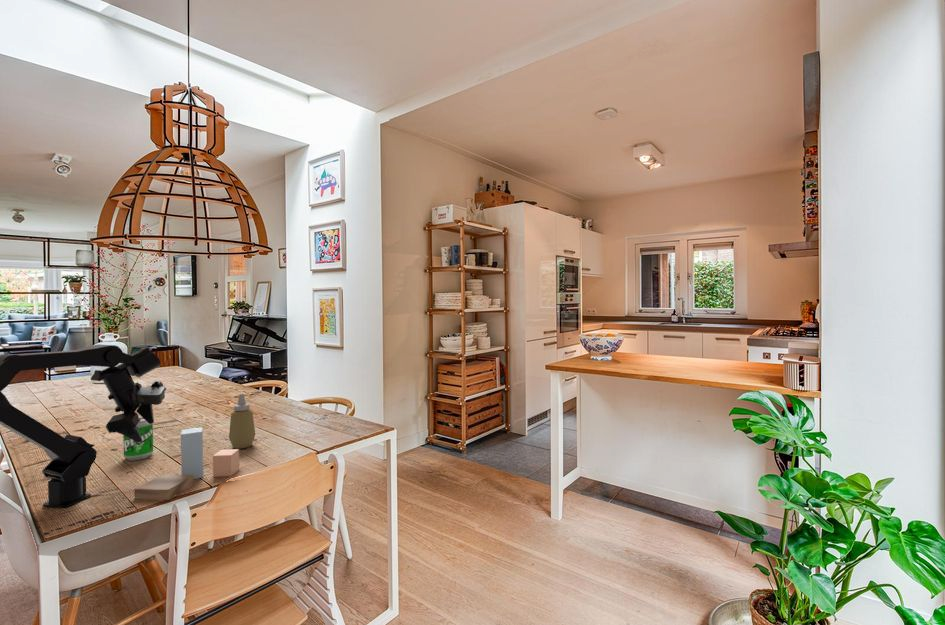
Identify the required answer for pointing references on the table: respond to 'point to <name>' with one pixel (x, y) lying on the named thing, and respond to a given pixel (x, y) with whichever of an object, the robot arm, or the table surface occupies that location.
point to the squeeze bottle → (241, 425)
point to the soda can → (142, 448)
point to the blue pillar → (192, 452)
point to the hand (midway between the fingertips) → (146, 432)
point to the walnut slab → (164, 487)
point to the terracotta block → (226, 462)
